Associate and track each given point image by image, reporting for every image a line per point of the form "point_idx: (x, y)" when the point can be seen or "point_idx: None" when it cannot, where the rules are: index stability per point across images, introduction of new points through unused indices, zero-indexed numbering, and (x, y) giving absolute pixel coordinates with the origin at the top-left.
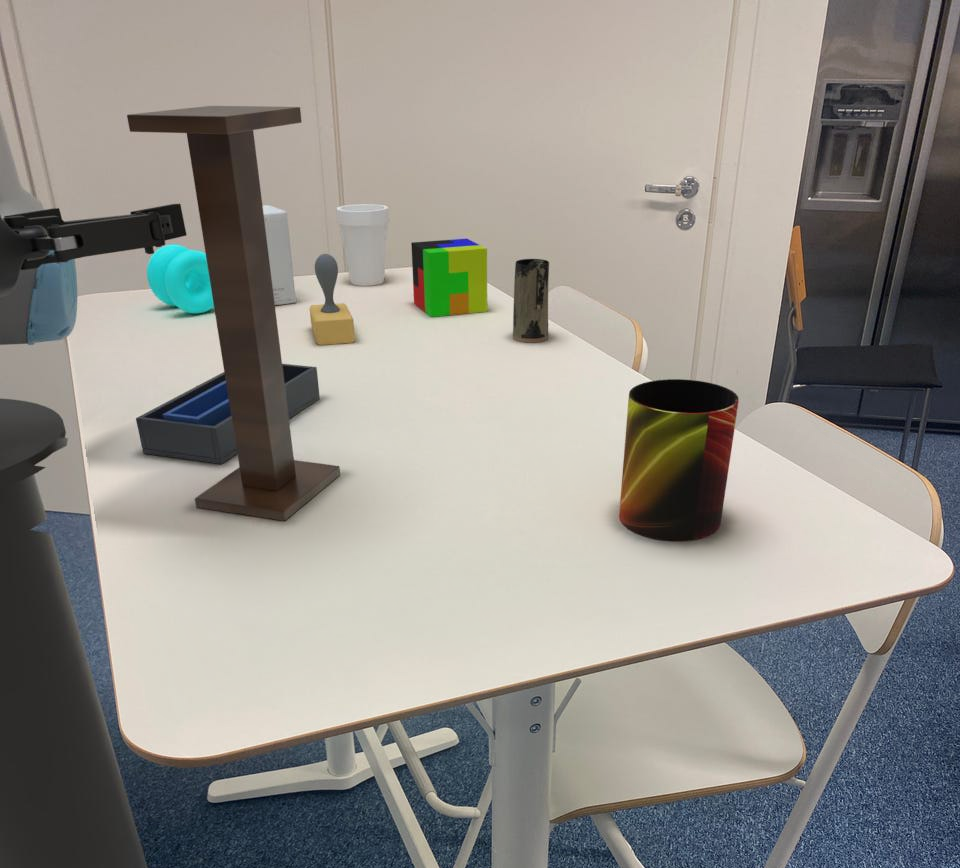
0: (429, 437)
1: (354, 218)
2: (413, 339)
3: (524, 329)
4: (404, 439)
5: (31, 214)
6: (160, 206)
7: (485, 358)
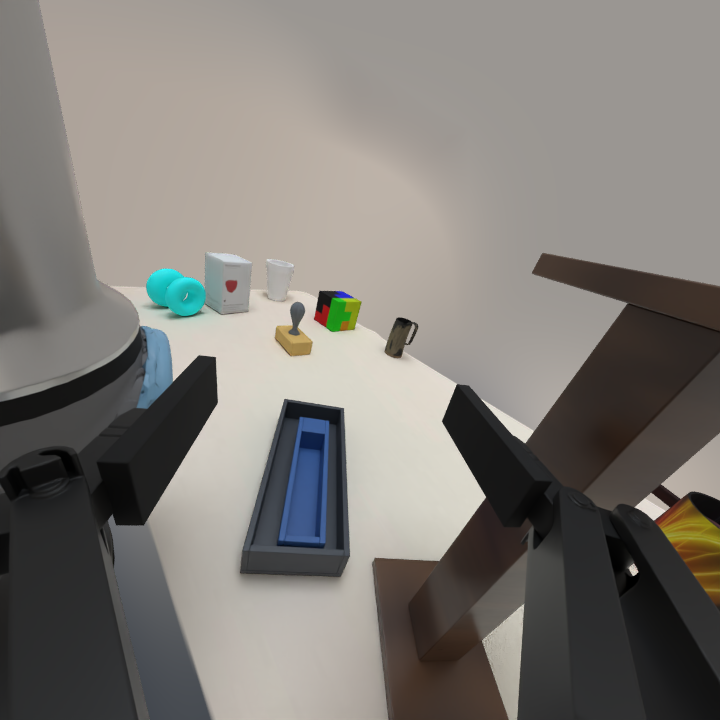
0: (448, 476)
1: (279, 268)
2: (339, 352)
3: (395, 351)
4: (437, 482)
5: (176, 408)
6: (478, 408)
7: (390, 372)
